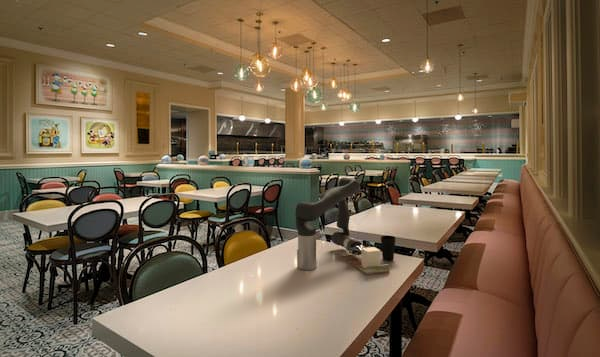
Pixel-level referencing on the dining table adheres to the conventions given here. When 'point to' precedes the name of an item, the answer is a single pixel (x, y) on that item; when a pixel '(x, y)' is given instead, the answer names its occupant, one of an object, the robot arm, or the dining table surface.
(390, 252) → the cup
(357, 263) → the track
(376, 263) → the block
